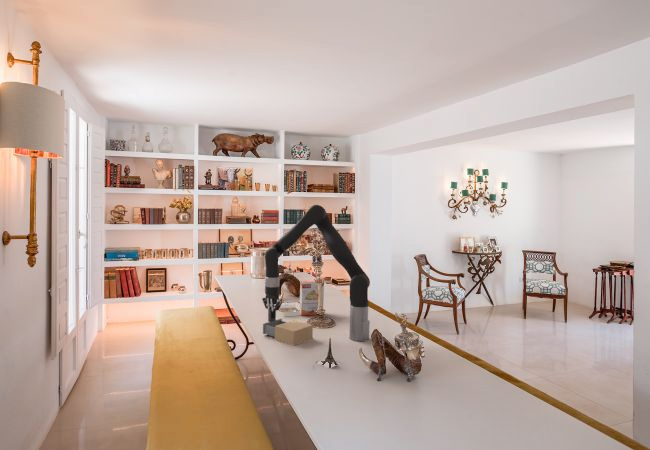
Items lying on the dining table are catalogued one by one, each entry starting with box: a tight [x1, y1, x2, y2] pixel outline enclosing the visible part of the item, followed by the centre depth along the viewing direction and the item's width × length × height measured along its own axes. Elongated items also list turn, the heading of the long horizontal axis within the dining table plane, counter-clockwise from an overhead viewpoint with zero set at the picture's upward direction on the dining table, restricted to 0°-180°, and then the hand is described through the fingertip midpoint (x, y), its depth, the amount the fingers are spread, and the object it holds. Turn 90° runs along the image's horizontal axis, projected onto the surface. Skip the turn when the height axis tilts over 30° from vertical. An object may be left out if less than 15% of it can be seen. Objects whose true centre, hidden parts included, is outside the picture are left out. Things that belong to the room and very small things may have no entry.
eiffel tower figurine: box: [321, 337, 339, 369], centre depth 183 cm, size 15×10×13 cm
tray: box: [262, 309, 288, 338], centre depth 221 cm, size 14×13×11 cm
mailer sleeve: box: [274, 319, 314, 346], centre depth 215 cm, size 13×14×7 cm
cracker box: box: [299, 279, 325, 317], centre depth 262 cm, size 14×6×21 cm, turn 105°
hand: (271, 317), depth 225 cm, fingers closed
